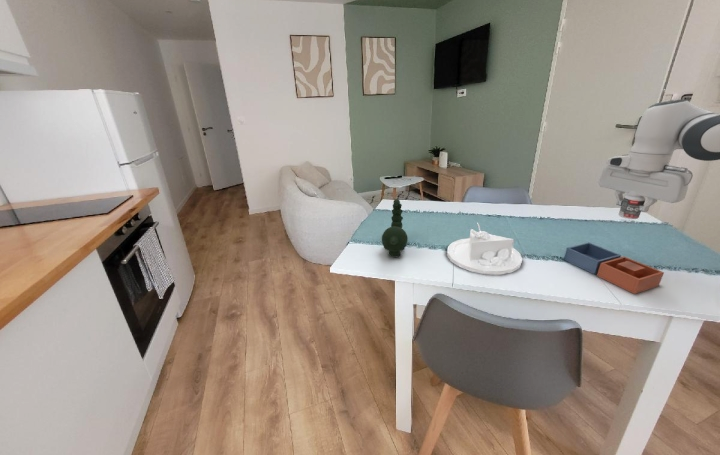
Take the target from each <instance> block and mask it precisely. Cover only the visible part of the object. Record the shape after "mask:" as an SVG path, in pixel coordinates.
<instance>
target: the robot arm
mask: <svg viewBox="0 0 720 455" xmlns="http://www.w3.org/2000/svg"><path fill="white" fill-rule="evenodd" d="M676 150H683V151H684V152H685V154H686V155H687V156H689V157H690V158H692V159H694V160H697V161H703V162H705V161H706V162H709V161H710V162H712V161H720V113H719V112H714V111H710V110H707V109H705V108H702V107H699V106H697V105H695V104H693V103H691V101H689V100H688V99H675V100H674V99H673V100H665V101H661V102H657V103H653V104H652V105H649V106H648V107H647V108H646V109H645V111H644V112H643V114H642V116H641V117H640V119H639V122H638V124H637V127H636V130H635V132H634V143H633V145H632V146H631V148H630V149H629V152H628V154H622V155H616V156H613V157H608V158H607V160H606V165H605V166H604V167H603V169H602V170H601V173H600V176H599V178H598V185H599V187H601V188H605V189H609V190H613V191H615V192H614V195H615V198H616V201H615V202H616V203H615V205H616V206H620V207H621V205H622V202H623V200H624V195H623V194H625V193H626V194H627V193H630V192H631V191H634V192H635V193H636V195H639V196H643V197H645V198H646V203H644V205H640V207H639V210H638V211H641V213H648V212H649V210H650V207H651V206H653V205H655V203H657V202H658V201H661V202H666V203H670V204H675V203H676V204H677V203H679V202H682V201H683V200H685V198H686V196H687V192H688V188H689V184H690V183H691V182H692V179H693V176H694V174H693V172H692V171H691V170H689V169H688V168H687V167H683V166H682V167H680V166H676V165H675V166H674V165H670V163H671V160H672V157H673V154H674V152H675V151H676Z"/></svg>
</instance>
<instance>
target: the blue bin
mask: <svg viewBox="0 0 720 455" xmlns="http://www.w3.org/2000/svg"><path fill="white" fill-rule="evenodd" d="M620 257H622V254H620V253H617V252H614V251H612V250H610V249H607V248H604V247H602V246H599V245H596V244H594V243H592V242H588V241H587V242H585V243H581V244H577V245H573V246H569V247H566V248H565V253H564V257H563V260H564V261H566V262H568V263H570V264H572V265H574V266H576V267H578V268H580V269H582V270H584V271H586V272H588V273H590V274H592V275H597V274H598V271H599V267H600V264H601V263H603V262H606V261H610V260H613V259H617V258H620Z"/></svg>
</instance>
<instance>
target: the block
mask: <svg viewBox="0 0 720 455" xmlns="http://www.w3.org/2000/svg"><path fill="white" fill-rule="evenodd" d="M616 269H618V270H620V271H622V272H625V273H627V274H629V275H632V276H634V277H636V278H638V279H640V278H642V275H643V272H644V270H645V268H644V267H642V266H639V265H637V264H634V263H632V262H629V261H625V262H622V263H618V264H617V267H616Z"/></svg>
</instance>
